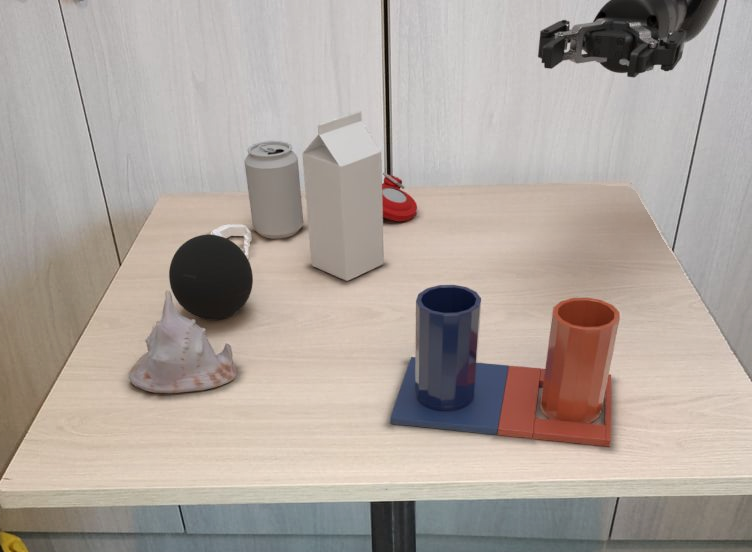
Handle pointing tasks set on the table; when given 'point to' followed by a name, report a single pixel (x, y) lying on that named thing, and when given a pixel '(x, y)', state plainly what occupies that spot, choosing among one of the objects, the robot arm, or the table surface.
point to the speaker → (210, 277)
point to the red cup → (578, 359)
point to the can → (274, 189)
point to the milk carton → (344, 198)
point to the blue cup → (446, 346)
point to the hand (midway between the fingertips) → (589, 61)
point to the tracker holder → (396, 200)
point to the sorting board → (500, 408)
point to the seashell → (180, 357)
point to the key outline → (235, 234)
